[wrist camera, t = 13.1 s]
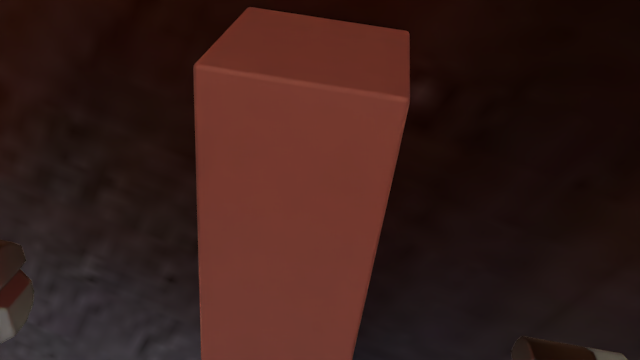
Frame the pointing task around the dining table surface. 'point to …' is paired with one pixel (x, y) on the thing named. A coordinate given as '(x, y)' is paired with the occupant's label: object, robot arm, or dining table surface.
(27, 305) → the robot arm
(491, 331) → the dining table surface
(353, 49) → the red rectangular block
